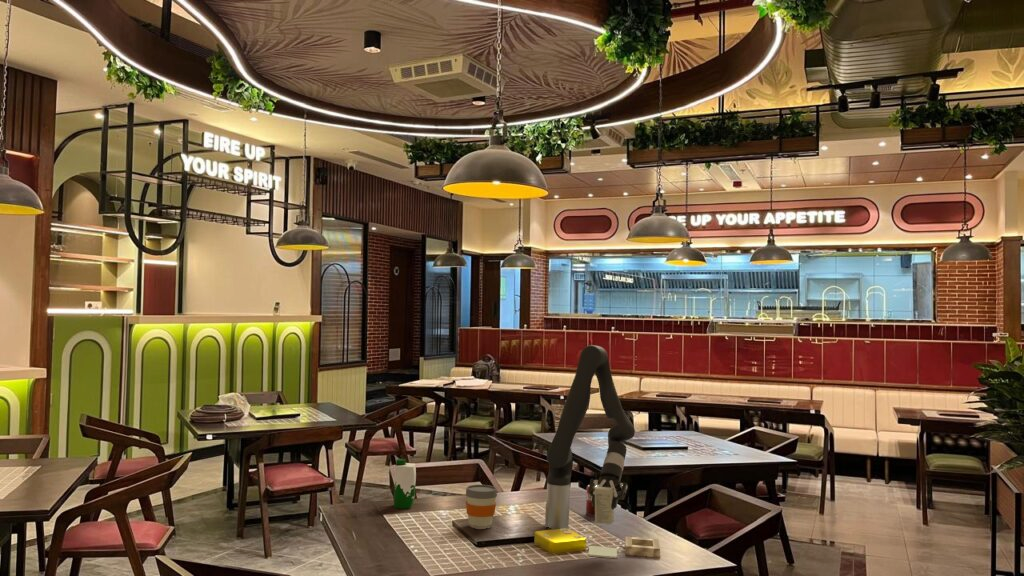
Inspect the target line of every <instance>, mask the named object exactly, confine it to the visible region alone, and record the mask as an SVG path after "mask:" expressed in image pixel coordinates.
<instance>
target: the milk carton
mask: <svg viewBox="0 0 1024 576" xmlns="http://www.w3.org/2000/svg"><path fill="white" fill-rule="evenodd" d="M406 461H407V460H406V458H397V459H396V463H395V466H394V478H393V479H394V481H393V482H394V483H393V508H394V509H407V510H408V509H411V508H412V507H413V505H414V501H415V496H416V479H417V472H416V471H417V469H416V468H417V466H416V465H417V464H416V463H412V462H411V463H410V462H406Z"/></svg>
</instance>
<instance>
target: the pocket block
mask: <svg viewBox="0 0 1024 576" xmlns="http://www.w3.org/2000/svg"><path fill="white" fill-rule="evenodd" d="M624 550H625V556H634V555H637V556H636V557H646V556H647V557H648V558H658V557H659V559H660V558H661V547H660V540H659V539H658V538H646V537H636V536H635V537H634V536H625V549H624Z"/></svg>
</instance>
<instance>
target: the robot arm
mask: <svg viewBox="0 0 1024 576" xmlns="http://www.w3.org/2000/svg"><path fill="white" fill-rule="evenodd" d="M609 361H610V360H609V356H608V352H607V351H606V349H605V348H603V347H602V346H600V345H595V344H594V345H593V344H590V345H587V346H585V347H584V348H583V349H582V350H581V352H580V354H579V359H578V363H577V367H576V372H575V374H574V378H573V381H572V383H571V386H570V388H569V392H568V394H567V397H566V400H565V402H564V404H563V407H562V411H561V415H560V418H559V422H558V425H557V429H556V432H555V434H554V436H553V439H552V441H551V443H550V445H549V446H548V448H547V451H546V460H547V461H546V462H547V463H548V464H549V466H548V467H549V469H548V473H547V474H548V475H547V477H546V481H547V482H546V503H545V517H544V522H545V523H544V528H546V527H549V528H548V529H550V528H551V529H550V530H554V529H564V528H567V529H569V527H570V497H571V496H570V495H571V494H570V493H571V490H570V489H571V477H572V471H573V470H572V467H573V451H572V444H573V441H574V438H575V435H576V434H577V432H578V430H579V428H580V427H581V426H582V423H583V421H584V418H585V416H586V414H587V411H588V409H589V405H590V402H591V389H592V382H593V379H594V375H595V376H596V379H597V382H598V387H599V388H598V389H599V397H600V402H601V405H602V408H603V411H604V413H605V416H606V418H607V419H608V420H615V421H616V422H617V424H615V425H613V426H611V427H610V429H609V430H608V432H607V446H608V447H607V451H606V455H605V457H604V459H603V463H602V466H601V467H602V468H601V471H600V475H599V478H597V479H594V478H590V480H589V485H590V486H589V494H590V496H593V497H592V501H591V503H592V505H593V507H595V491H594V486H596V485H599V486H598V487H610V488H614V489H613V494H614V497H613V500H612V505H611V508H612V509H614V510H615V509H617V505H618V502H619V500H620V501H621V500H622V501H624V499H625V497H626V494H627V491H628V489H629V488H628V483H627V482H621V479H622V476H623V475H622V474H623V471H624V466H625V459H626V456H627V446H626V445H625V443H624V442H626V441H629V440H632V439H633V438H634V436H635V427H634V424H633V423H632V421H631V420H630V418H629V417H628V415H627V414H626V412H625V410H624V408H623V406H622V402H621V400H620V397H619V394H618V393H617V390H616V386H615V382H614V379H613V375H612V371H611V366H610V365H611V364H610V362H609ZM620 488H621V489H620ZM618 489H620V492H619V493H617V490H618Z"/></svg>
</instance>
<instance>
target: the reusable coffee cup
mask: <svg viewBox="0 0 1024 576" xmlns="http://www.w3.org/2000/svg"><path fill="white" fill-rule="evenodd" d="M465 488H466V489H465V496H466V501H465V509H466V514H467V519H468V520H467V521H468V525H469V524H471V525H477V526H487V525H491V524H493V519H494V518H493V517H494V516H495V512H496V505H497V501H496V500H497V497H498V490H497V487H496V486H493V485H488V484H471V485H468V486H466V487H465Z"/></svg>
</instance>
